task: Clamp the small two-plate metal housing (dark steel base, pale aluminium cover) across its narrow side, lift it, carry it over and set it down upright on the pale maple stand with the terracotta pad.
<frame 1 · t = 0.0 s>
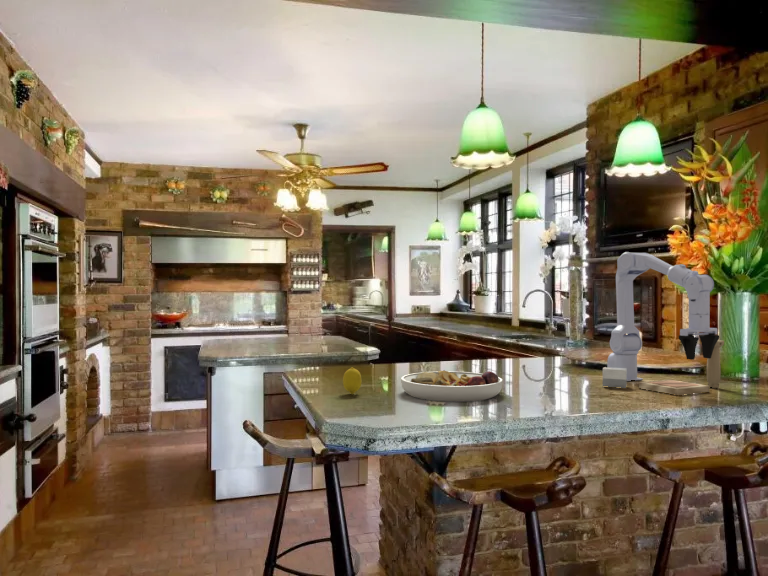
hand: (698, 358, 186), 10 cm above the counter, fingers open, 7 cm apart
housing: (614, 387, 195), on the counter
stand: (673, 390, 188), on the counter
handle: (713, 388, 193), on the counter
bowl: (451, 395, 182), on the counter
lemon: (352, 395, 181), on the counter
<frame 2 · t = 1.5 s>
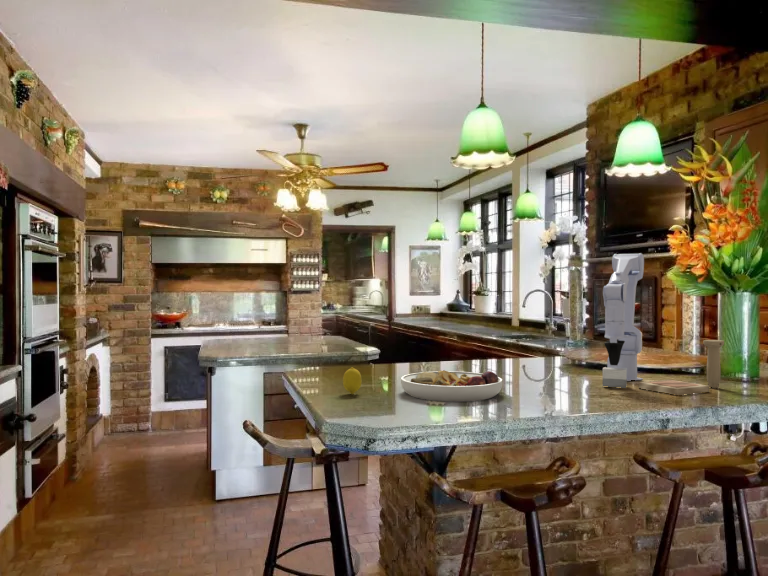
hand: (614, 363, 195), 7 cm above the counter, fingers open, 7 cm apart
nothing on the counter moved.
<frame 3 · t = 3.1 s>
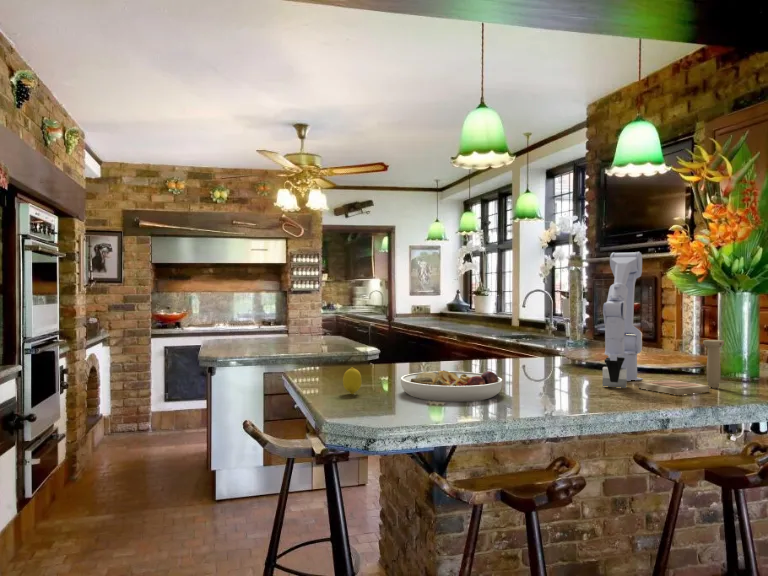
hand: (614, 381, 195), 2 cm above the counter, fingers closed on housing, 4 cm apart
housing: (614, 387, 195), on the counter, touching gripper
everything else where it was.
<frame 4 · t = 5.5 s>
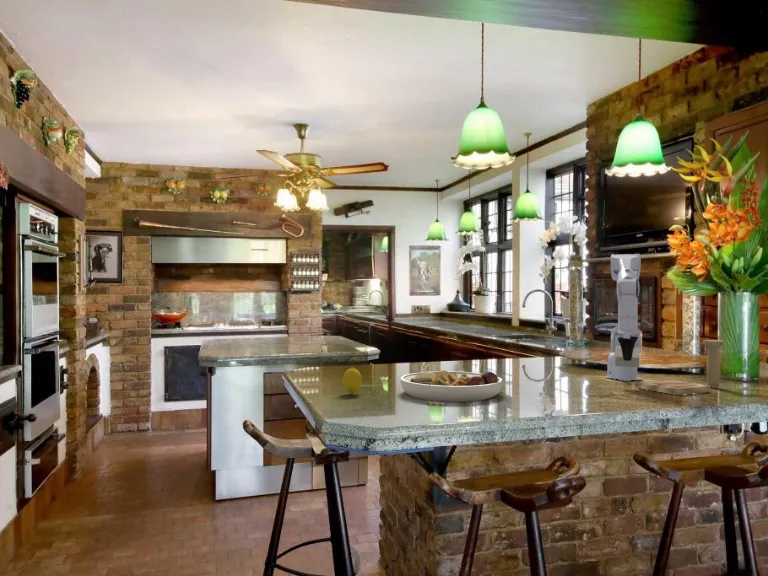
hand: (627, 359, 193), 9 cm above the counter, fingers closed on housing, 4 cm apart
housing: (627, 365, 193), point 7 cm above the counter, touching gripper
everything else where it was.
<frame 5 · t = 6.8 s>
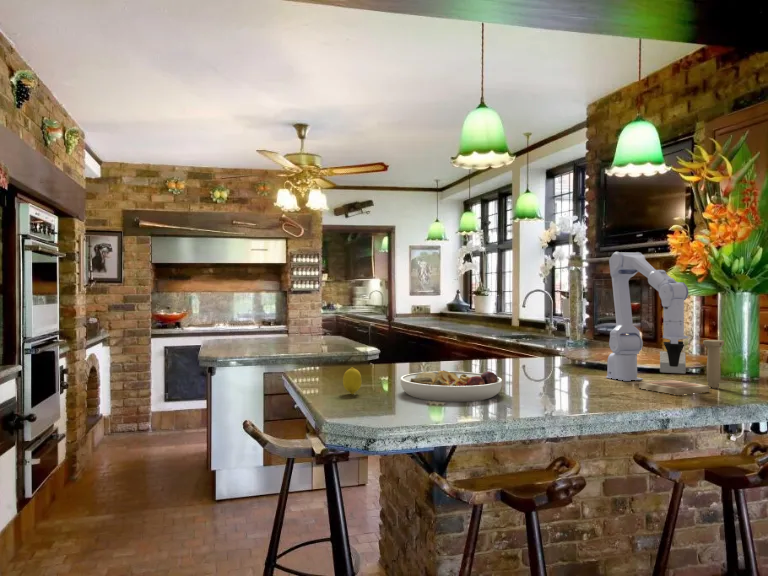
hand: (673, 365, 188), 8 cm above the counter, fingers closed on housing, 4 cm apart
housing: (672, 371, 188), point 6 cm above the counter, touching gripper
everything else where it was.
when the fingers open (6 cm above the counter, at t = 8.1 s): housing drops 1 cm, resting on stand.
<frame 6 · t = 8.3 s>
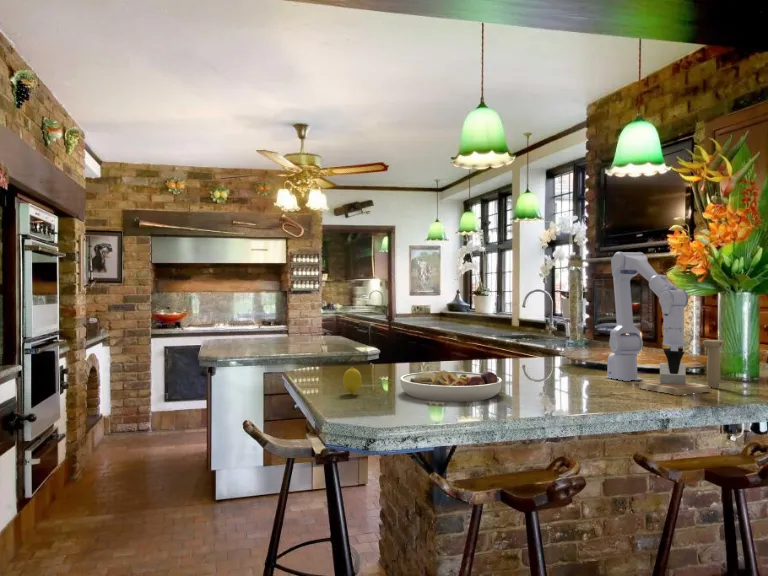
hand: (673, 372, 188), 6 cm above the counter, fingers open, 6 cm apart
housing: (672, 383, 188), point 2 cm above the counter, touching stand
everything else where it was.
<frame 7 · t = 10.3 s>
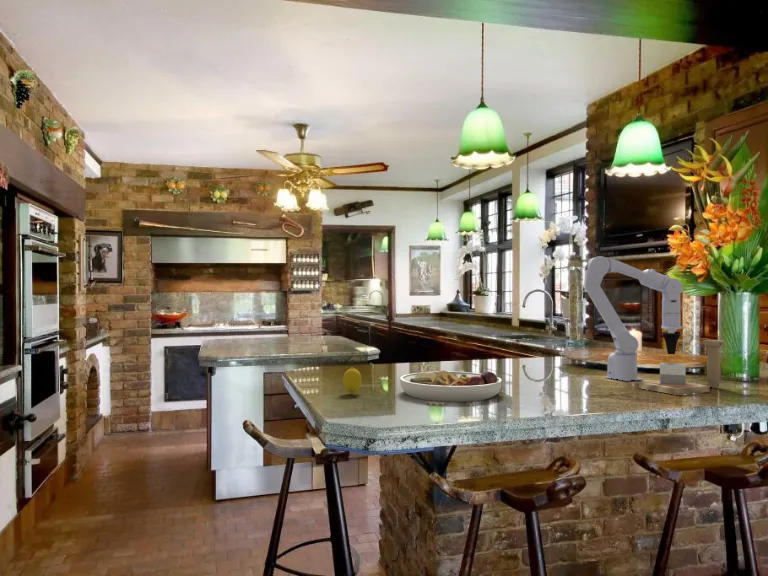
hand: (671, 353, 209), 9 cm above the counter, fingers open, 7 cm apart
nothing on the counter moved.
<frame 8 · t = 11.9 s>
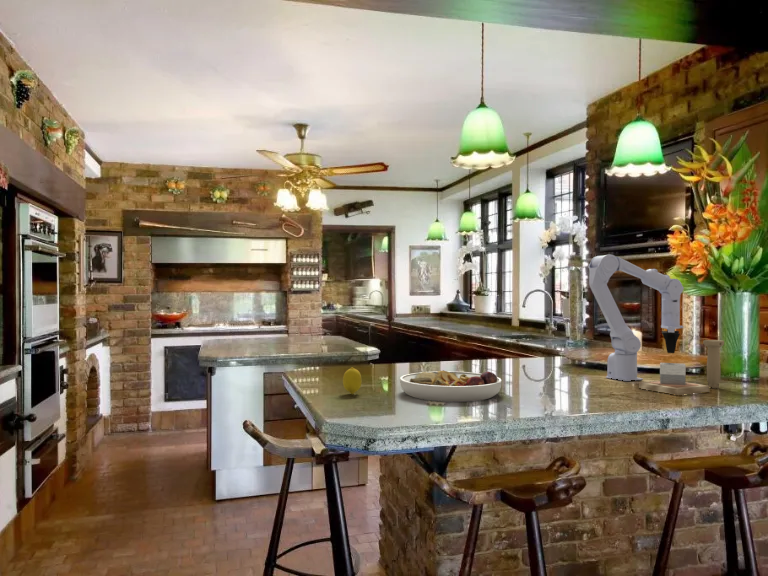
hand: (670, 352, 212), 9 cm above the counter, fingers open, 7 cm apart
nothing on the counter moved.
at the end: housing inside the target area on the stand (0.2 cm from its centre), point 2.2 cm above the stand's base; housing tilted 0°; the gripper is holding nothing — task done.
